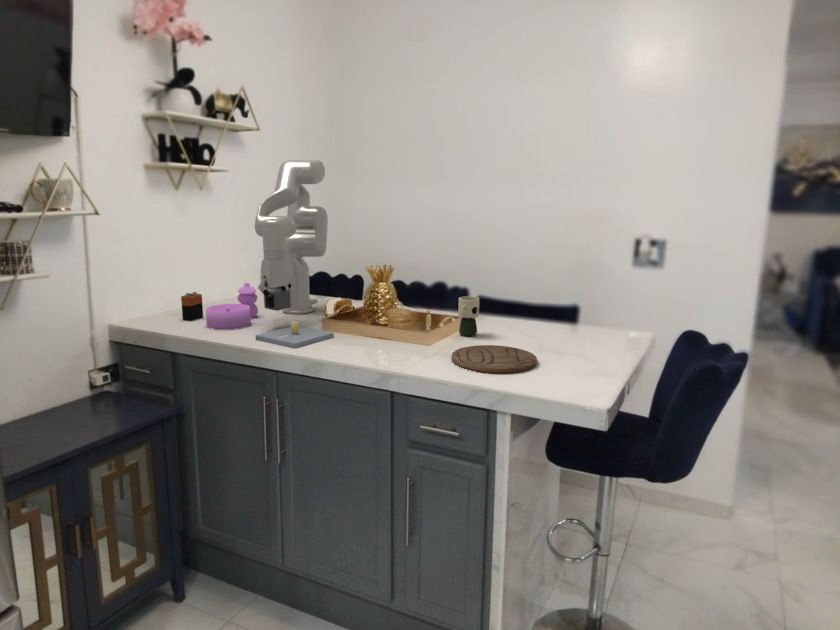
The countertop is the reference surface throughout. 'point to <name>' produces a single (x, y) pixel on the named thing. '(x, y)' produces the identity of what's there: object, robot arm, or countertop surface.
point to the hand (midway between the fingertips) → (277, 304)
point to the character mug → (468, 315)
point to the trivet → (494, 359)
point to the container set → (234, 311)
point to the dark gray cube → (279, 299)
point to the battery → (192, 306)
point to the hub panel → (294, 336)
